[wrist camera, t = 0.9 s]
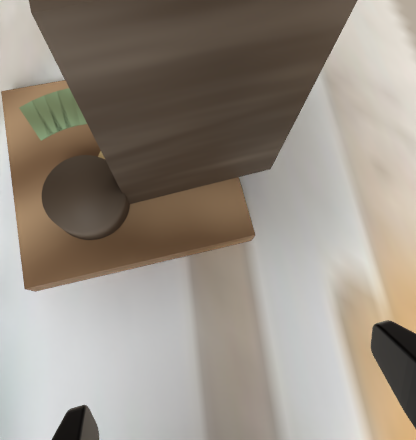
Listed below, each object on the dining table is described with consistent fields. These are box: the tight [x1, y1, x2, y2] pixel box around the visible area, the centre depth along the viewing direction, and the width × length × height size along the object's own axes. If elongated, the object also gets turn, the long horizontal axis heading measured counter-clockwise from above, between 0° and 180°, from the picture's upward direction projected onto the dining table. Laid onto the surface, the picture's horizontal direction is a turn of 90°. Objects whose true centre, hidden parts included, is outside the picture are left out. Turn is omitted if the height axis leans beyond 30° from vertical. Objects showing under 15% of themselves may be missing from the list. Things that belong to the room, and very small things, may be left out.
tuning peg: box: [29, 0, 357, 240], centre depth 17 cm, size 9×13×14 cm
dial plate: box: [1, 80, 255, 291], centre depth 24 cm, size 13×14×2 cm
